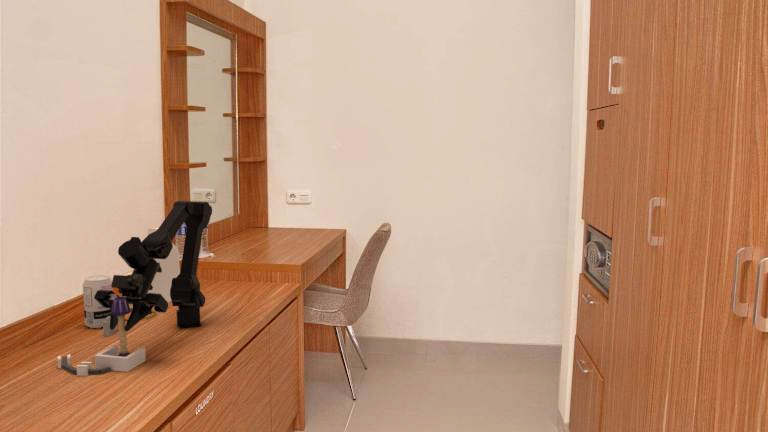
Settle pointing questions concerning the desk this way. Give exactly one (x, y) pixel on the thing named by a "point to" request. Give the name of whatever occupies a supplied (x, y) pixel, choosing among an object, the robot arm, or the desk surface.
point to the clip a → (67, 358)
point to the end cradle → (119, 359)
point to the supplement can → (92, 307)
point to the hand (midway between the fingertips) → (118, 330)
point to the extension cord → (144, 317)
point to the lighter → (107, 327)
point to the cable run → (90, 371)
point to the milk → (165, 272)
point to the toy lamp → (121, 321)
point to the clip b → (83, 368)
